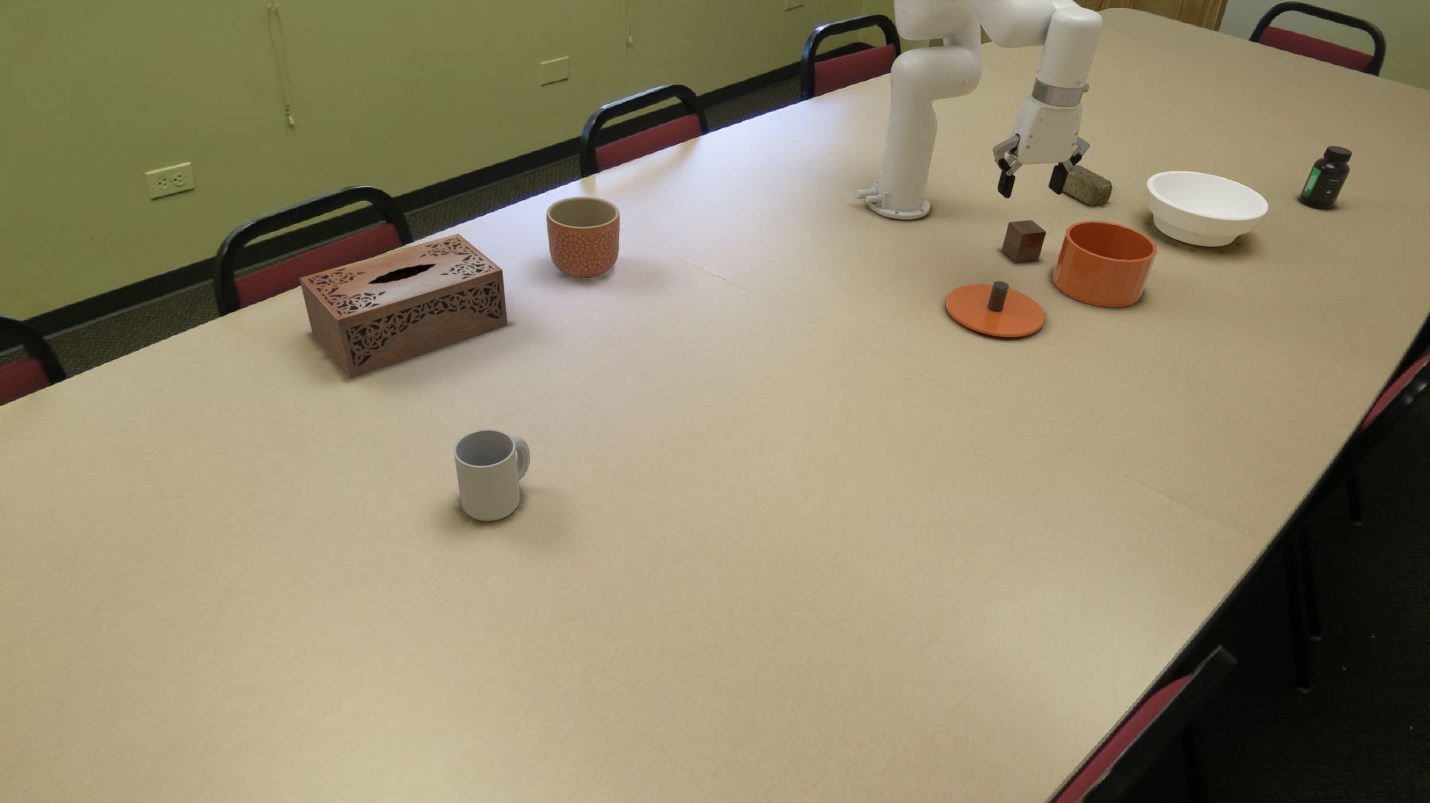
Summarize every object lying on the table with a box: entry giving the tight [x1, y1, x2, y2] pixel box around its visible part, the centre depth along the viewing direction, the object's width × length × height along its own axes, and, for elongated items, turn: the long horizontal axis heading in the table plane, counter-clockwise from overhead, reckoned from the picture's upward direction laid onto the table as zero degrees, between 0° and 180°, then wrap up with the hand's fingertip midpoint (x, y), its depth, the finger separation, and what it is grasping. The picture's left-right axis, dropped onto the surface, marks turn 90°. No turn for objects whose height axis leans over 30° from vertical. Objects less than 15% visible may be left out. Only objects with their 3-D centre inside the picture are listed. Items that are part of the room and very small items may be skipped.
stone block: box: [1062, 164, 1113, 206], centre depth 203 cm, size 6×12×5 cm, turn 28°
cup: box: [453, 428, 531, 522], centre depth 118 cm, size 7×10×9 cm
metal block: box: [1001, 219, 1047, 264], centre depth 179 cm, size 5×5×6 cm
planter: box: [545, 196, 621, 279], centre depth 165 cm, size 12×12×11 cm
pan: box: [1052, 220, 1158, 308], centre depth 170 cm, size 15×15×9 cm
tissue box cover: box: [299, 233, 508, 379], centre depth 147 cm, size 26×14×10 cm, turn 129°
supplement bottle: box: [1298, 145, 1353, 210], centre depth 205 cm, size 7×7×12 cm
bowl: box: [1146, 170, 1269, 248], centre depth 191 cm, size 22×22×8 cm
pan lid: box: [945, 280, 1045, 338], centre depth 161 cm, size 16×16×6 cm
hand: (1029, 193), depth 161 cm, fingers open, 9 cm apart
